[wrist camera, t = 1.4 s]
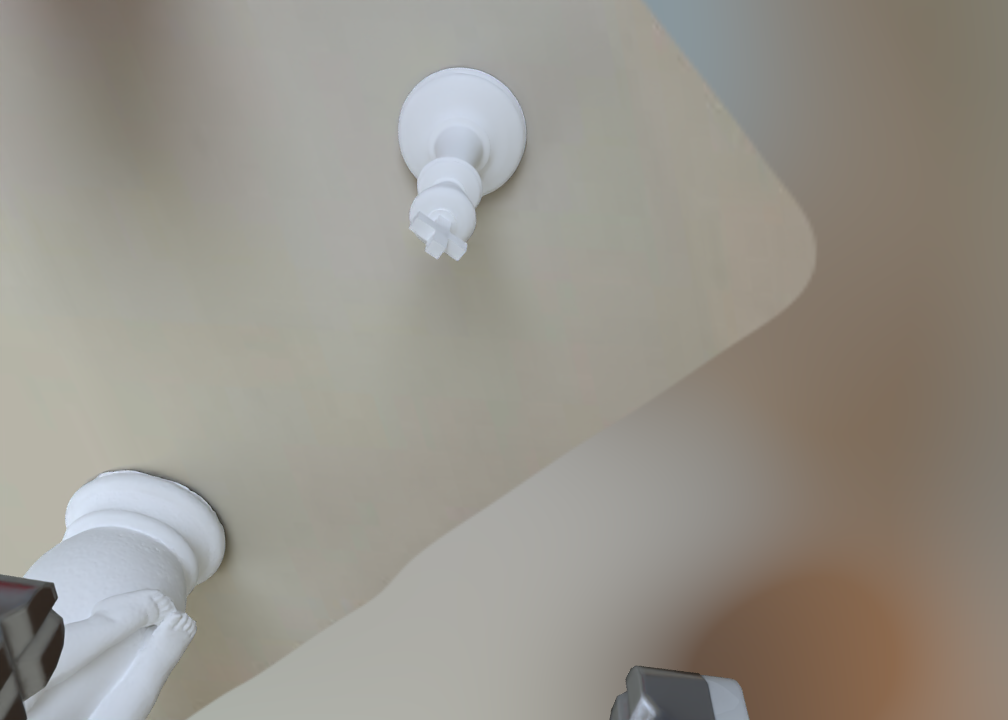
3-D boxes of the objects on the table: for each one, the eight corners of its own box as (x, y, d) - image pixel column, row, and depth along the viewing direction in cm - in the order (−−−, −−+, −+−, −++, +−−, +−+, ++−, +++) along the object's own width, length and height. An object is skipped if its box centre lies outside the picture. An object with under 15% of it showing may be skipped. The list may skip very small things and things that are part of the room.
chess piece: (445, 38, 27) (408, 125, 19) (552, 121, 29) (560, 234, 21) (374, 145, 30) (314, 263, 21) (477, 216, 31) (457, 353, 23)
